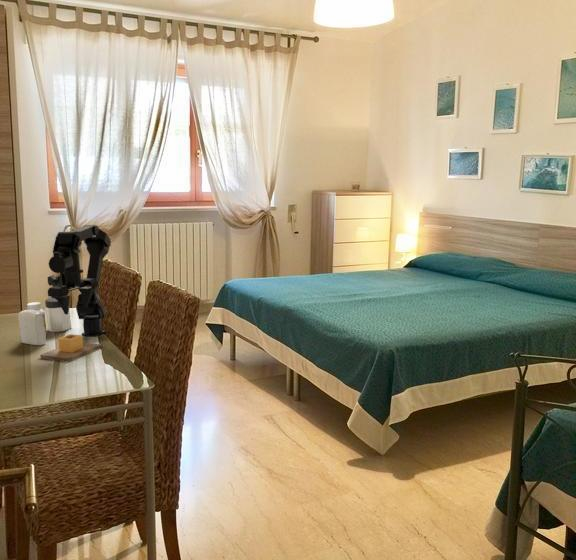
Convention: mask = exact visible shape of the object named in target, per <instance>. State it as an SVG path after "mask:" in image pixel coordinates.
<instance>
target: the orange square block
mask: <svg viewBox="0 0 576 560" xmlns="http://www.w3.org/2000/svg"><path fill="white" fill-rule="evenodd" d="M68 335H73V338H71V339H68ZM57 339H58V340H57V342H58V348H59V350H60V351H64V352H74V351H77V350H79V349H82V348H83V342H84V341H83V335H82V334H75V333H74V334H72V333H69V334H66V335H64V336H61V337H58V338H57Z"/></svg>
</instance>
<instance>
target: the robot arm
mask: <svg viewBox="0 0 576 560" xmlns="http://www.w3.org/2000/svg"><path fill="white" fill-rule="evenodd" d="M82 242H83V243H84V244H85V246H86V250H87V252H88V254H89V260H88V267H87V273H86V278H82V273H84V269H81V266H80V265H81V262H80V252H81V250H80V246H82V244H83V243H82ZM111 245H112V244H111V238H110V237H109V235H108V233H107V232H105V231H104V230H102V229H100V228H99V226H98V225H96V224H85V225H82V226H81V227H78V228H77V229H74V230H72V231H59V232H57V235H56V236H55V240H54V244H53V248H52V253H53V256H51V258H50V259H49V261H48V268H49V269H50V270H51V271H52V272H54V273H56V274H59V275H58V276H55V274H53V275H49V276H47V283H48V284H47V285H49V286H50V287H48V289H47V296H48V297H51V298H55V299H56V300H57V301H58V302H59V304H60V306H61V308H62V310H63V311H64V313H65V314H68V311H69V310H70V300H71V297H70V295H69V293H70V292H71V291H76V290H78V291H79V292H80V293H78V297H77V301H76V305H75V309H76V310H75V311H76V314H77V317H78V320H82V321H83V324H82V325H83V333H81V335H82V336H88V337H89V336H90V337H97V336H99V335H102V334H104V333H106V332H107V330H103V322H102V321H103V319H105V318H106V315H107V313H106V309H105V308H104V306H103V305H102V300H101V298H100V295H99V287H100V281H101V274H102V267H103V261H104V258H105V257H106V256H107V255H108V254H109V251H110V247H111Z"/></svg>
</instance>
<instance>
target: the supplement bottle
mask: <svg viewBox="0 0 576 560" xmlns="http://www.w3.org/2000/svg"><path fill="white" fill-rule="evenodd" d="M26 305H27V306H26V307H27V310H35V311H37V312H39V313H41V314H42V316H43V320H44V328H45V335H46V336H47V334H48V332H47V331H48V330H47V321H46V313H45V309H42V308H41V306H42V303H41V302H37V301H35V302H34V301H33V302H29V303H27V304H26Z"/></svg>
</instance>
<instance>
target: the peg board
mask: <svg viewBox="0 0 576 560" xmlns="http://www.w3.org/2000/svg"><path fill="white" fill-rule="evenodd" d="M67 335H68V339H71V338H73V335H69V334H67ZM102 345H103V344H101V343H93V342H86V341H83V348H82V349H79V350H77V351H74V352H64V351H60V350H59V347H56V348H54V349H52V350H49V351H47V352H44V353H41V354H40V355H39V356H40V357H39V358H40V359H44V360H45V359H46V360H50V359H51V360H50V361H57V360H60V361H59V362H65V361H68V362H67V363H69V362H72V361H74V360H76V359H78V358H81V357H84V356H86V355H88V354H90V353H93V352H95V351H96V350H99V349H102V348H103V346H102ZM92 351H93V352H92ZM73 359H74V360H73ZM71 360H72V361H71Z"/></svg>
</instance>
